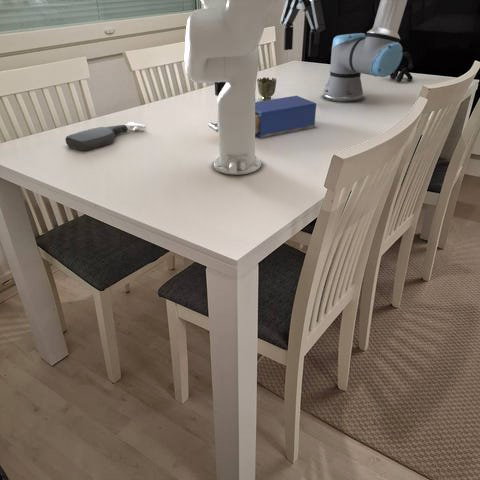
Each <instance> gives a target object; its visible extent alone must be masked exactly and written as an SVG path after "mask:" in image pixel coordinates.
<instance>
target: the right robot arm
mask: <svg viewBox="0 0 480 480" xmlns="http://www.w3.org/2000/svg"><path fill="white" fill-rule="evenodd" d="M407 2H408V0H380V1H379V5H378V8H377V12H376V16H375V19H374V24H373V26H372V28H371V29H369V30H368V31H366V33H363V32H360V33H359V32H357V33H346V34H340V35H336V36H335V37H333V40H332V46H331V54H330V55H331V56H330V70H329V77H328V80H327V83H326V84H325V86H324V87H325V88H324V90H323V95H322V96H323V98H324V99H325V100H328V101H330V102H337V103H353V102H359V101H362V100H363V96H364V91H363V86H362V81H361V74H363V75H368V76H372V77H381V78H385V77H390V74H392V72H394V71H395V70H396V69H397V67H398V66H399V64H400V62H401V61H402V60H403V57H402V54H403V53H404V51H403V46H402V44H401V43H400V41H401V37H400V35H399V33H398V32H399V29H400V26H401V23H402V19H403V17H404V12H405V9H406V6H407ZM300 10H301V11H303V12H304V13H305V16H306V18H307V21H308V24H309V27H310V31H309V38H308V57H310V58H311V57H317V56H318V54H319V53H318V52H319V43H320V34H321V32H322V31H325V30H326V24H325V23H326V22H325V17H324V13H323V8H322V2H321V0H285V3H284V6H283V10H282V14H281V17H280V20H279V23H280V25H282V26H283V38H284V39H283V51H291V50H293V46H294V45H293V44H294V42H293V41H294V22H295V20H296V17H297V16H298V13H299V12H300Z"/></svg>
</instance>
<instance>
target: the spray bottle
mask: <svg viewBox="0 0 480 480" xmlns="http://www.w3.org/2000/svg"><path fill="white" fill-rule="evenodd" d="M142 129H143V130H145V129H147V126H146V125H144V124H141V123H137V122H133V121H128V123H125V124H118V125H111V126H99V127H93V128H90V129H85V130H81V131H78V132H75V133H72V134H68V135H67V136H66V137H65V139H64V140H65V143H66V145H67V146H68V147H70V148H73V149H75V150H78V151H81V152H86V151H90V150H94V149H98V148H100V147H104V146H107V145H109V144H112V143H114V140H115V138H116V136H117V135H119V134H122V133H123V134H124V133H127V132H128V131H132V132H134V131H136V130H142Z"/></svg>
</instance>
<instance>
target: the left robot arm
mask: <svg viewBox="0 0 480 480" xmlns="http://www.w3.org/2000/svg"><path fill="white" fill-rule="evenodd" d="M277 1H278V0H200V3H202V5H203V7H202V8H198V9H195V10H193V11H191V13H190V14H189V15H188V18H187V21H186V29H185V41H184V43H185V44H184V69H185V72H186V75H187V77H188V79H189V80H190V81H192V83H193V82H194V83H197V84H208V83H209V84H210V83H214V96H216V97H217V100H216V110H217V111H216V112H217V123H218V132H217V133H218V135H217V136H218V137H217V138H218V157H216V158H215V159H214V160H213V167H214V169H215V170H216V171H217V172H219V173H222V174H226V175H233V176H234V175H238V176H239V175H247V174H252V173H254V172H256V171H258V170H259V169H260V168H261V166H262V161H261V159H260V158H259V157H258V156H256V135H255V102H256V90H257V89H256V88H257V79H258V72H259V64H260V50H259V47H258V46H259V44H260V42H261V40H262V36H263V33H264V30H265V28H266V24H267V22H268V18H269V14H270V13H271V10H272V9H273V8H274V5H275V4H276V3H277Z"/></svg>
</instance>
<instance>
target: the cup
mask: <svg viewBox="0 0 480 480" xmlns="http://www.w3.org/2000/svg"><path fill="white" fill-rule="evenodd" d="M256 84H257V91H258V95H259V96H260V97H261V101H266V100H272V97H273V96H274V95H275V92H276V89H277V88H276V87H277V78H276V77H275V78H274V77H272V78H271V79H270V77H262V78H261V77H259V78H257V79H256Z"/></svg>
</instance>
